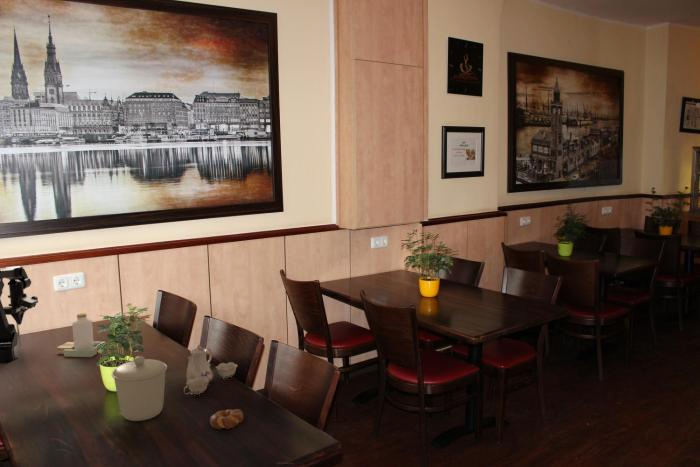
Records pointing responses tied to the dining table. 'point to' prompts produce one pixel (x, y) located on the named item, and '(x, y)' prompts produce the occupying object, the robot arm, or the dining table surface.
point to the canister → (140, 388)
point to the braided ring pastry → (226, 419)
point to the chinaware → (204, 370)
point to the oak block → (65, 347)
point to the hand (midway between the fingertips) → (19, 324)
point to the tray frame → (82, 352)
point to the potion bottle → (82, 333)
